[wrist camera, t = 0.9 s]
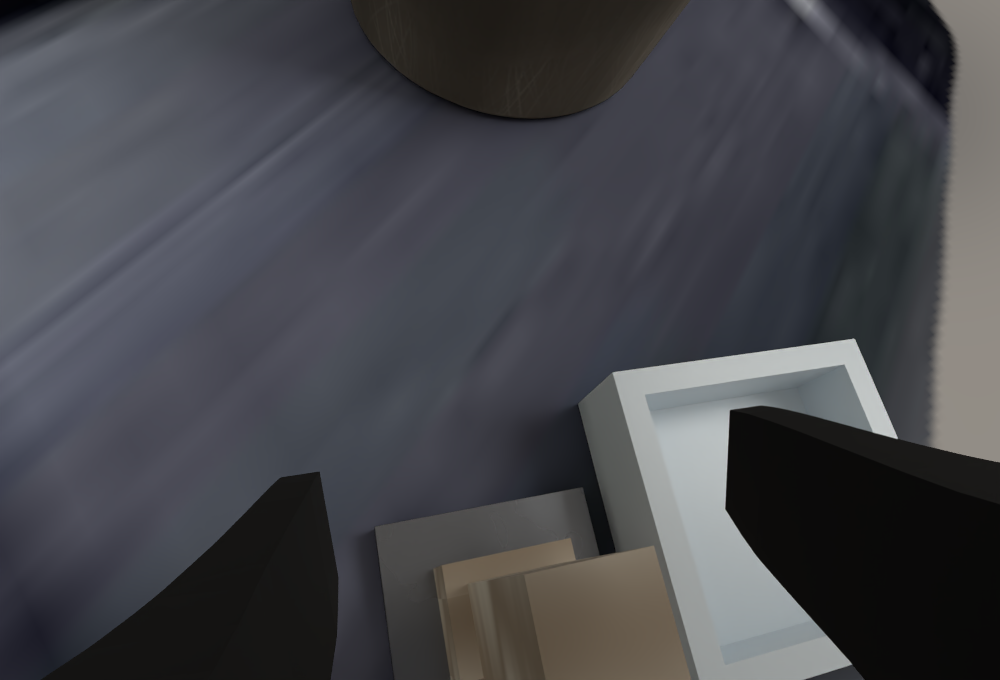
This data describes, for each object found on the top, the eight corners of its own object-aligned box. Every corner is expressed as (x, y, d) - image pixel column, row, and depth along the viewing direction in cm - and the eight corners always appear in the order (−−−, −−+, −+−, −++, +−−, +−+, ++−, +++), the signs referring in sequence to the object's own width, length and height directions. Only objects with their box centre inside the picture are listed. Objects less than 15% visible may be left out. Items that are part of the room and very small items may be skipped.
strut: (578, 674, 21) (737, 727, 12) (455, 708, 20) (531, 795, 11) (549, 544, 23) (672, 507, 14) (433, 568, 22) (485, 546, 13)
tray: (890, 621, 25) (978, 625, 22) (651, 692, 22) (707, 709, 19) (793, 371, 29) (854, 339, 26) (577, 404, 26) (612, 372, 23)
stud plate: (630, 714, 22) (667, 730, 19) (407, 782, 20) (414, 809, 17) (576, 490, 25) (601, 477, 22) (374, 529, 23) (376, 519, 20)
